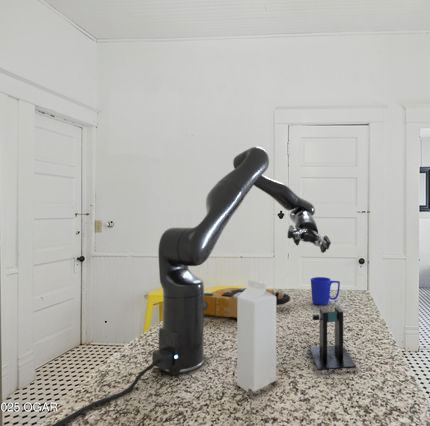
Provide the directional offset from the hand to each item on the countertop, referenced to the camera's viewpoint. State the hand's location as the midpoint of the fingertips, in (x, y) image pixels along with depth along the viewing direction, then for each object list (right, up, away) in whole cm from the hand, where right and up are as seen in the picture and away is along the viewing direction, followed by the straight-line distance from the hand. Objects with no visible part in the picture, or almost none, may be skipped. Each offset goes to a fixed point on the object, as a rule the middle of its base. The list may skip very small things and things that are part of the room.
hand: (311, 246), depth 96 cm
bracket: (+5, -26, -19) cm, 33 cm away
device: (-24, -27, +21) cm, 42 cm away
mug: (+7, -27, +32) cm, 43 cm away
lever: (+4, -18, -14) cm, 23 cm away
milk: (-12, -27, -30) cm, 42 cm away
